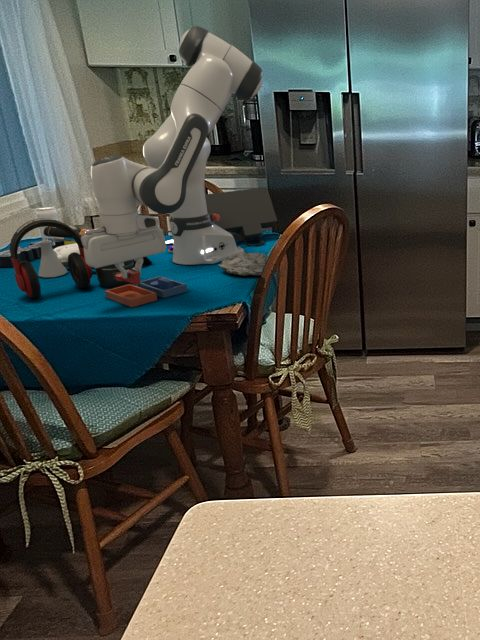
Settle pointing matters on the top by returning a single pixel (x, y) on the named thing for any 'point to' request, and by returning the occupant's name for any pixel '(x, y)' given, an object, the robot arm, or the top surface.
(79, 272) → the headphones
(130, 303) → the terracotta tray
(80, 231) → the toy figure
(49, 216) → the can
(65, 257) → the binoculars
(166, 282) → the navy paddle shape
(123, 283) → the jar
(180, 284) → the blue tray
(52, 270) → the flask
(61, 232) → the flashlight
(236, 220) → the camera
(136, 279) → the red paddle shape
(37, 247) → the logo
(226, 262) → the rock
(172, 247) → the building blocks
